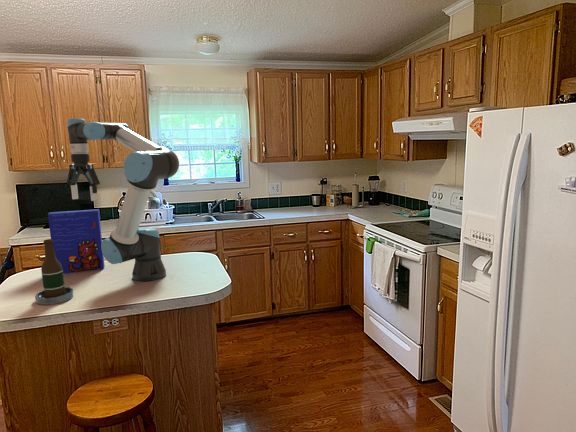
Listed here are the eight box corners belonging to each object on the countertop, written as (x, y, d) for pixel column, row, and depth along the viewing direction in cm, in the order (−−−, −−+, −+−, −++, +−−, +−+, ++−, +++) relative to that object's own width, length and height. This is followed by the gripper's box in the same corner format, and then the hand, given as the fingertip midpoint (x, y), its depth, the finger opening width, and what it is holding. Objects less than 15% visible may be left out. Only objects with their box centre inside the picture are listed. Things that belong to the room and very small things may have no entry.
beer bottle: (63, 299, 170) (56, 241, 166) (42, 301, 168) (34, 242, 164) (68, 292, 177) (61, 236, 173) (47, 294, 175) (40, 238, 171)
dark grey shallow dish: (80, 293, 178) (79, 287, 178) (58, 305, 165) (57, 298, 165) (51, 292, 180) (51, 286, 180) (28, 304, 168) (27, 297, 167)
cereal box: (104, 266, 219) (98, 208, 213) (103, 269, 213) (97, 210, 208) (57, 271, 211) (50, 211, 206) (55, 274, 206) (47, 213, 201)
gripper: (55, 153, 195) (60, 199, 199) (90, 153, 183) (95, 202, 187) (70, 153, 202) (75, 197, 205) (105, 152, 190) (109, 199, 193)
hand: (84, 199), depth 196 cm, fingers open, 13 cm apart
